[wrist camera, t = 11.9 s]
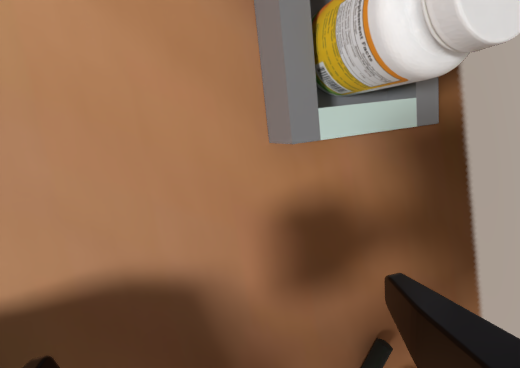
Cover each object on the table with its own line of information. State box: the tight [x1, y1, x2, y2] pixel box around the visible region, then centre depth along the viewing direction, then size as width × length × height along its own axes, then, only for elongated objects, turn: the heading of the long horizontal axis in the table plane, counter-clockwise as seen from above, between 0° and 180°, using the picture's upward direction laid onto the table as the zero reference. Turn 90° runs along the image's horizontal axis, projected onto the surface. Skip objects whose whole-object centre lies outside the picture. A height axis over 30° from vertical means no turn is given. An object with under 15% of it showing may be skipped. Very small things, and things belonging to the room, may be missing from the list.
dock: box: [254, 0, 439, 144], centre depth 19 cm, size 10×10×4 cm
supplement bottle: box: [311, 0, 520, 96], centre depth 15 cm, size 5×5×10 cm
